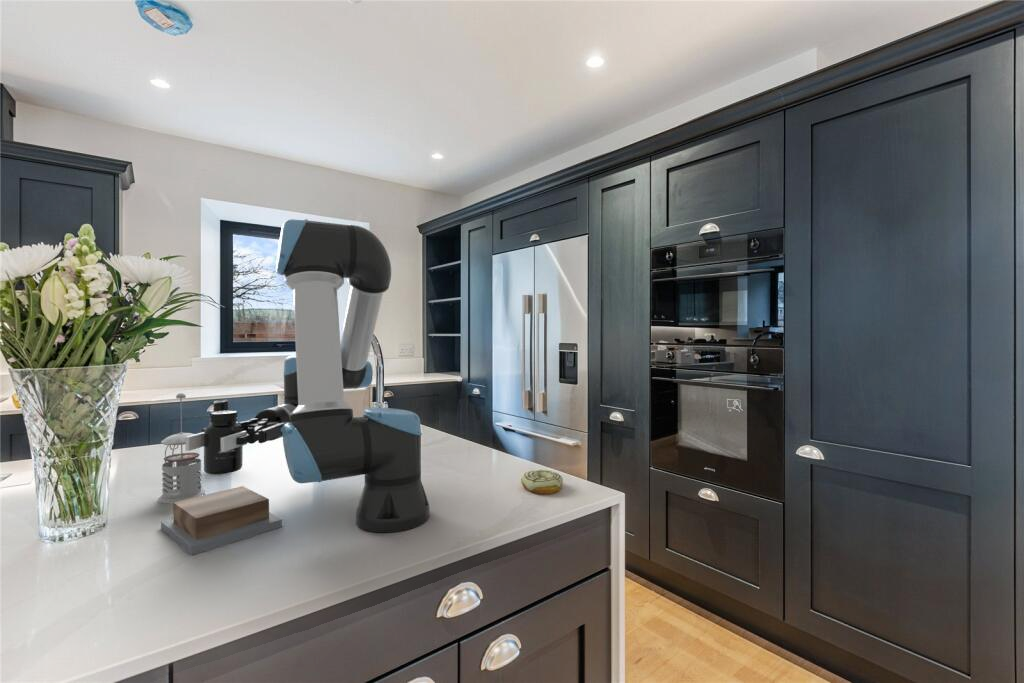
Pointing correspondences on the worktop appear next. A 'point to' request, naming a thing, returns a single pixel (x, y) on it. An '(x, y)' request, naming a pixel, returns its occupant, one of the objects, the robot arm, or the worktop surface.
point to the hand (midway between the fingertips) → (204, 444)
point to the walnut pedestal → (220, 511)
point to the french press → (180, 470)
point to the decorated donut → (542, 481)
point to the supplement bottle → (213, 457)
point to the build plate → (220, 538)
